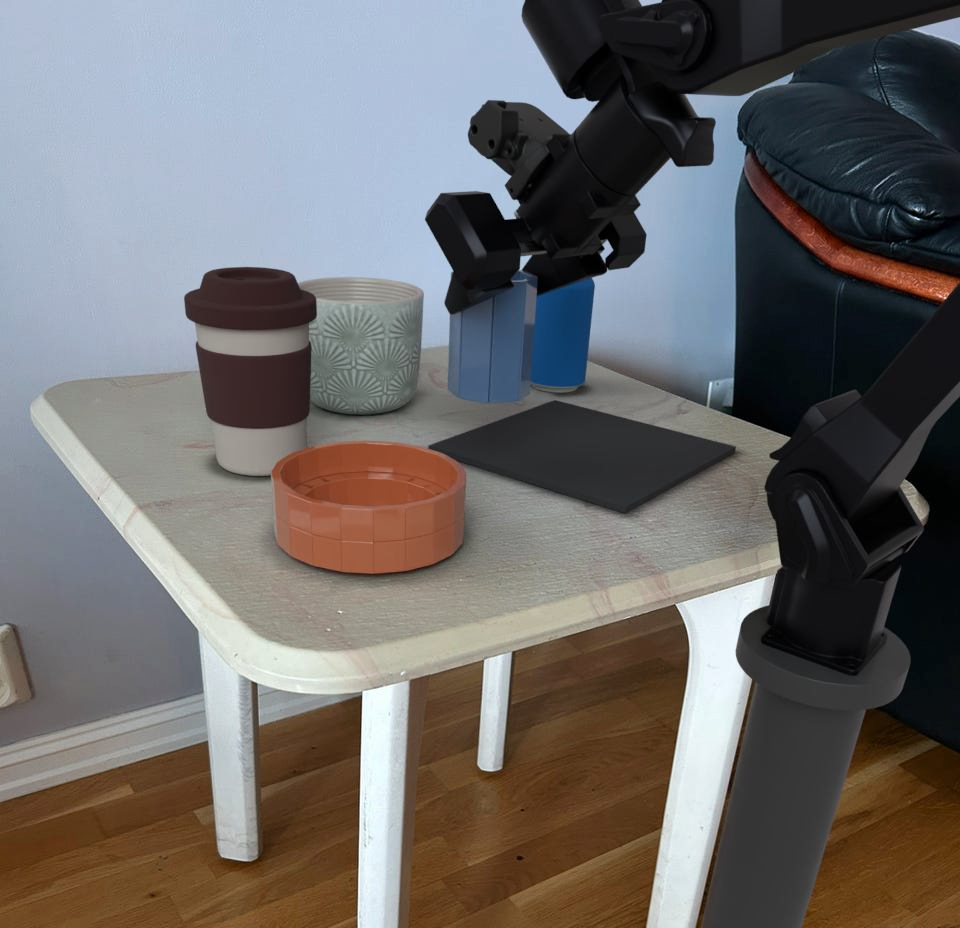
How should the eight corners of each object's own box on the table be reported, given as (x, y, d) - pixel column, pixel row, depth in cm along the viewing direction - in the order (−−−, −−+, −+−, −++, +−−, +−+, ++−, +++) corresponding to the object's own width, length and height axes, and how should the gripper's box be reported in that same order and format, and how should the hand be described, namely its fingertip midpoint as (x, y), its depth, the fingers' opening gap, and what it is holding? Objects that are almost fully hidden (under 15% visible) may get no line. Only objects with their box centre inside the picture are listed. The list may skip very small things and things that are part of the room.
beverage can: (585, 380, 109) (597, 266, 103) (583, 396, 104) (595, 277, 98) (527, 375, 110) (535, 262, 104) (522, 391, 104) (530, 272, 98)
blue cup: (539, 400, 78) (548, 280, 73) (466, 405, 76) (471, 282, 71) (508, 379, 83) (515, 266, 78) (439, 383, 81) (442, 267, 76)
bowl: (500, 537, 71) (504, 472, 69) (375, 600, 62) (375, 526, 59) (366, 490, 78) (365, 428, 75) (236, 540, 69) (230, 471, 66)
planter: (441, 416, 95) (444, 299, 90) (318, 428, 90) (313, 305, 85) (395, 382, 105) (395, 274, 100) (281, 391, 100) (275, 278, 95)
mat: (735, 452, 90) (736, 446, 90) (625, 513, 76) (626, 506, 76) (554, 405, 100) (554, 399, 100) (428, 451, 86) (428, 445, 86)
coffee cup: (340, 474, 81) (335, 282, 73) (221, 491, 76) (203, 289, 69) (297, 437, 88) (288, 260, 80) (186, 451, 84) (166, 265, 76)
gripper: (633, 62, 71) (511, 210, 83) (449, 49, 59) (338, 223, 71) (708, 193, 70) (575, 322, 82) (537, 205, 59) (410, 355, 71)
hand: (480, 303), depth 77 cm, fingers closed on blue cup, 6 cm apart
